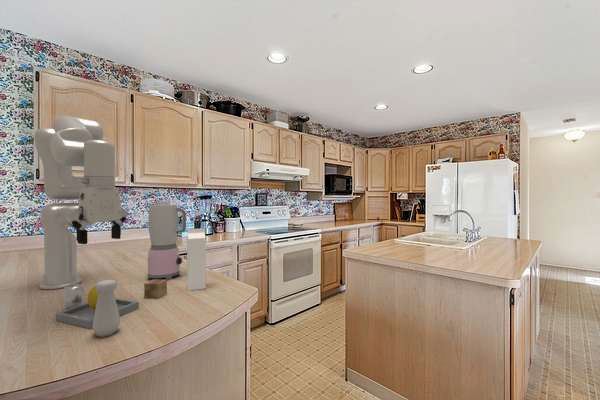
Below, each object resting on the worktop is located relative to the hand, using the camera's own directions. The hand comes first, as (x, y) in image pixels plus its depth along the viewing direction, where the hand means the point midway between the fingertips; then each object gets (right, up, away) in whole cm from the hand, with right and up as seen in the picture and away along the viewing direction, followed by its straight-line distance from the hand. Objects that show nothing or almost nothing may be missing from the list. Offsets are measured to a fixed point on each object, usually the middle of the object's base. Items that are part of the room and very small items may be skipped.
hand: (100, 241), depth 83 cm
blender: (+3, -21, +36) cm, 41 cm away
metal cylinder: (-9, -21, +2) cm, 23 cm away
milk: (+21, -21, +22) cm, 37 cm away
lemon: (+1, -20, -2) cm, 20 cm away
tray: (+1, -21, -2) cm, 21 cm away
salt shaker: (+11, -21, -13) cm, 27 cm away
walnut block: (+10, -21, +13) cm, 27 cm away
